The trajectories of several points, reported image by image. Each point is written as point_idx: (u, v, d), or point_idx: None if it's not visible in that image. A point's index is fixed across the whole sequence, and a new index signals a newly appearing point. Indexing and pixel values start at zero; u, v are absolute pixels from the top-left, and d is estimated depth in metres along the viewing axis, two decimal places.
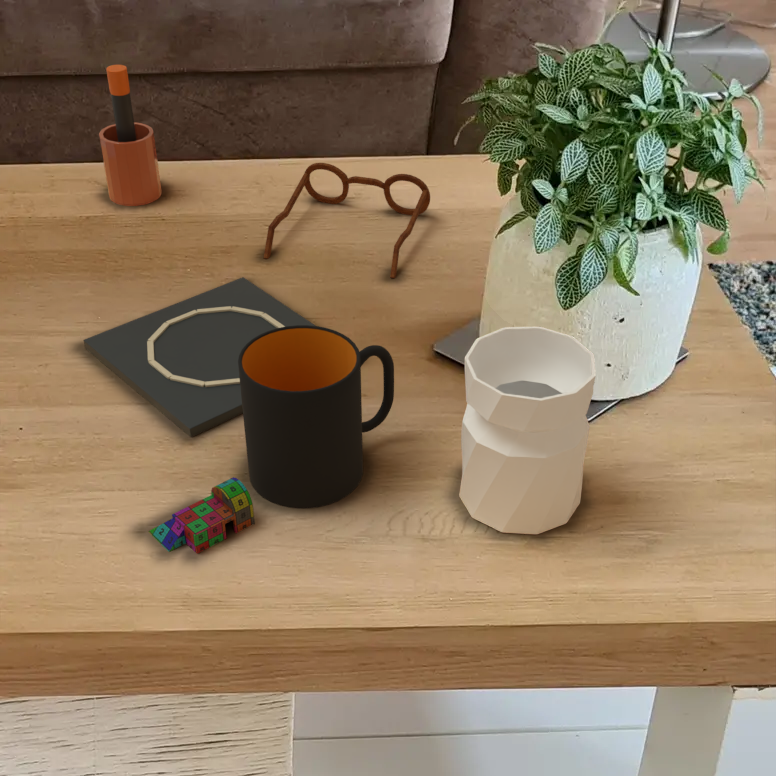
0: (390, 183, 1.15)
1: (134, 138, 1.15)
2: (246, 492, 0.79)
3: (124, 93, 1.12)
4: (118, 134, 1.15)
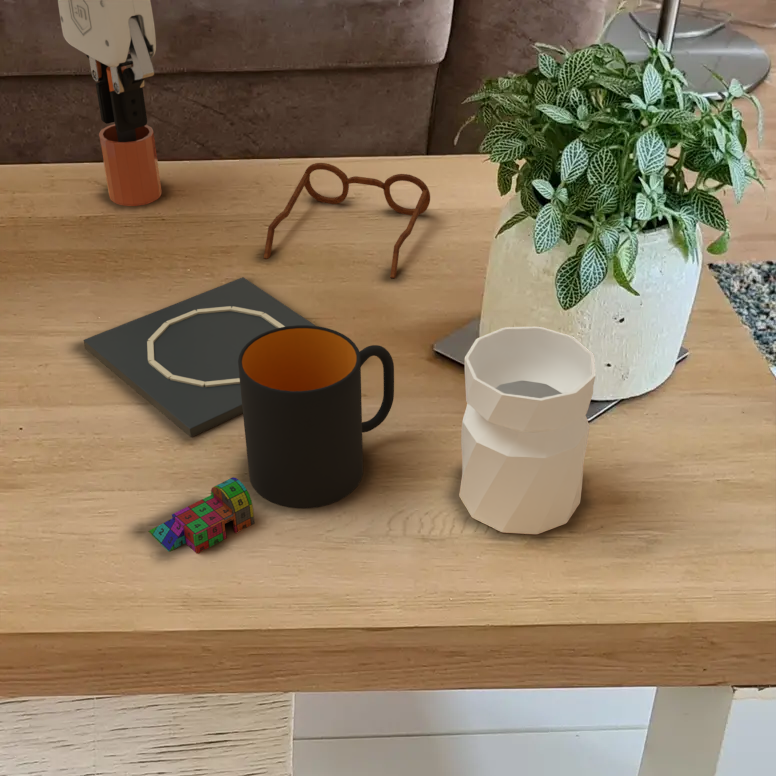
0: (390, 183, 1.15)
1: (134, 138, 1.15)
2: (246, 492, 0.79)
3: None
4: (118, 134, 1.15)
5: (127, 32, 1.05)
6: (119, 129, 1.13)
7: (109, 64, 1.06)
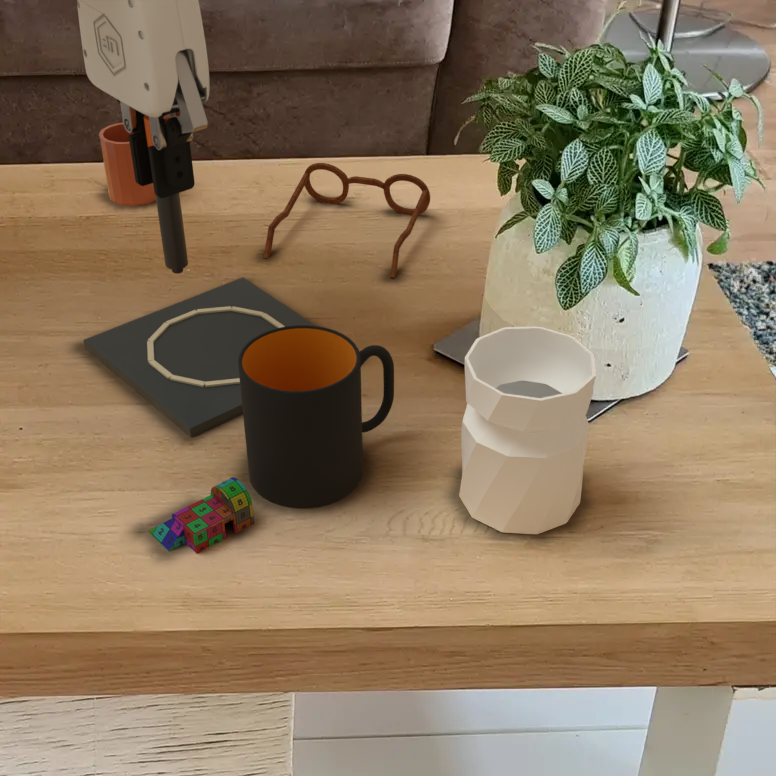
0: (390, 183, 1.15)
1: (177, 204, 0.89)
2: (246, 492, 0.79)
3: None
4: (158, 199, 0.89)
5: (173, 72, 0.79)
6: (159, 195, 0.87)
7: (149, 114, 0.80)
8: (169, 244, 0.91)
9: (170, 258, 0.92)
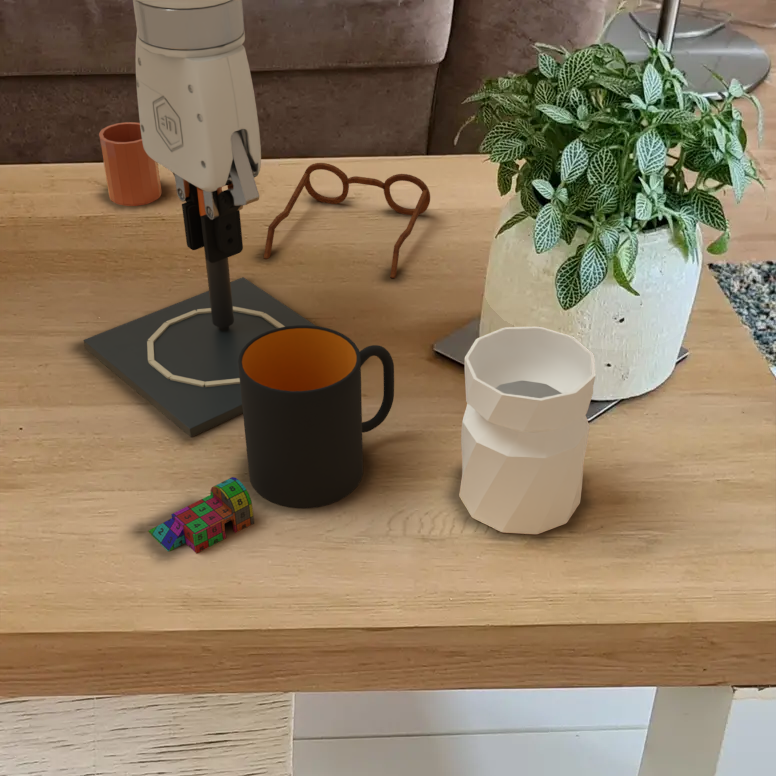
0: (390, 183, 1.15)
1: (226, 267, 0.94)
2: (245, 492, 0.79)
3: None
4: (208, 263, 0.94)
5: (229, 151, 0.84)
6: (210, 260, 0.92)
7: (205, 189, 0.85)
8: (216, 304, 0.96)
9: (218, 317, 0.97)
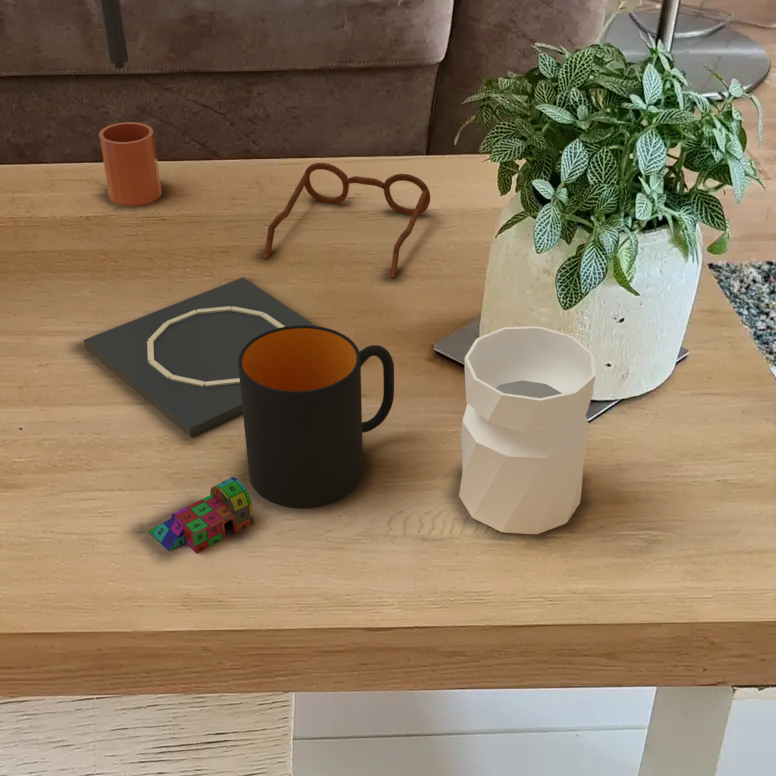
0: (390, 183, 1.15)
1: (117, 3, 1.06)
2: (245, 492, 0.79)
3: None
4: None
5: None
6: None
7: None
8: (110, 40, 1.08)
9: (112, 53, 1.09)
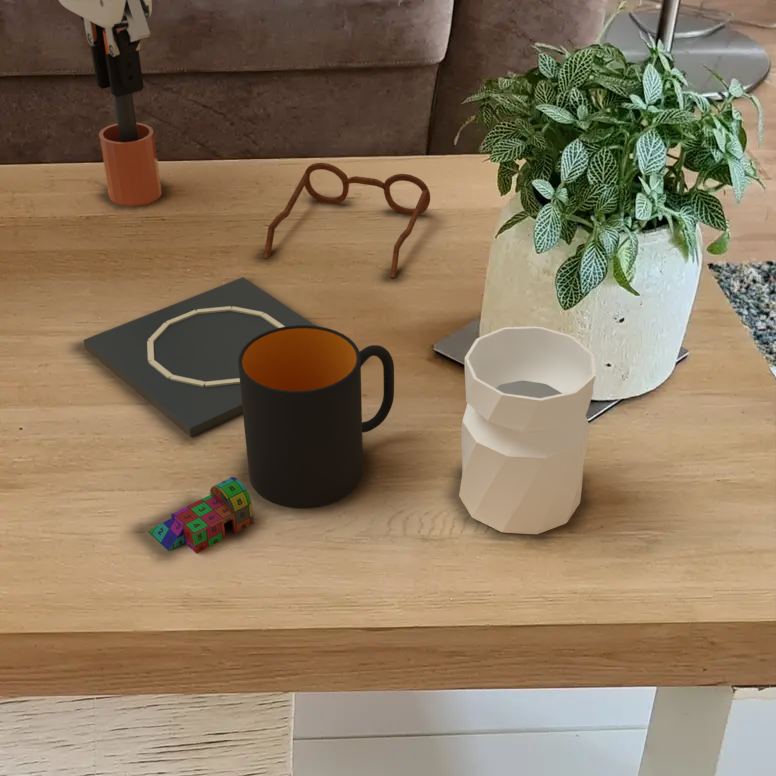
0: (390, 183, 1.15)
1: (130, 103, 1.13)
2: (245, 491, 0.79)
3: None
4: (115, 99, 1.13)
5: None
6: (115, 94, 1.11)
7: (104, 25, 1.04)
8: (124, 137, 1.15)
9: None
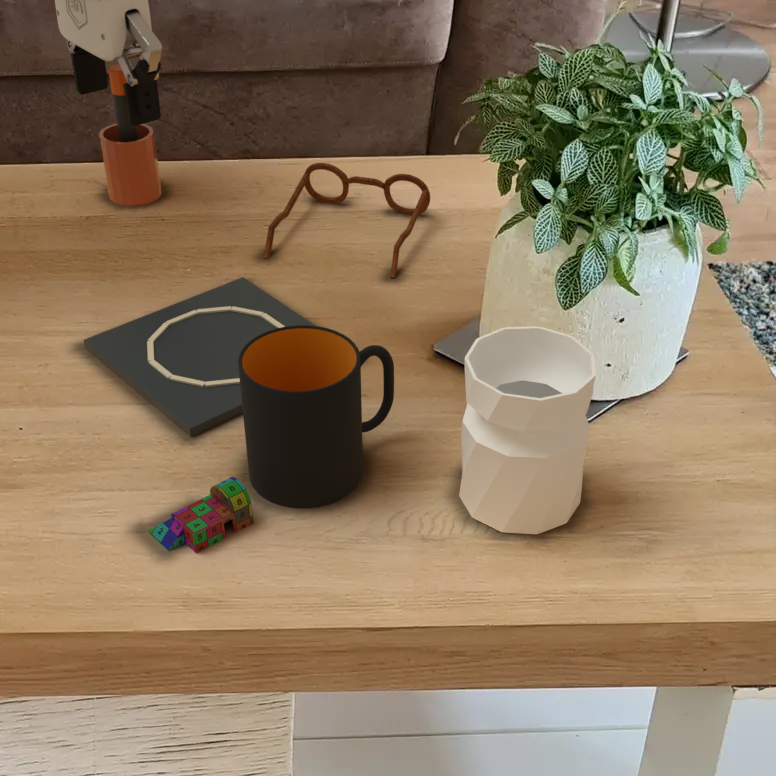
0: (390, 183, 1.15)
1: (135, 138, 1.15)
2: (245, 491, 0.79)
3: None
4: (120, 134, 1.15)
5: (123, 26, 1.04)
6: (132, 123, 1.10)
7: (105, 58, 1.06)
8: None
9: None
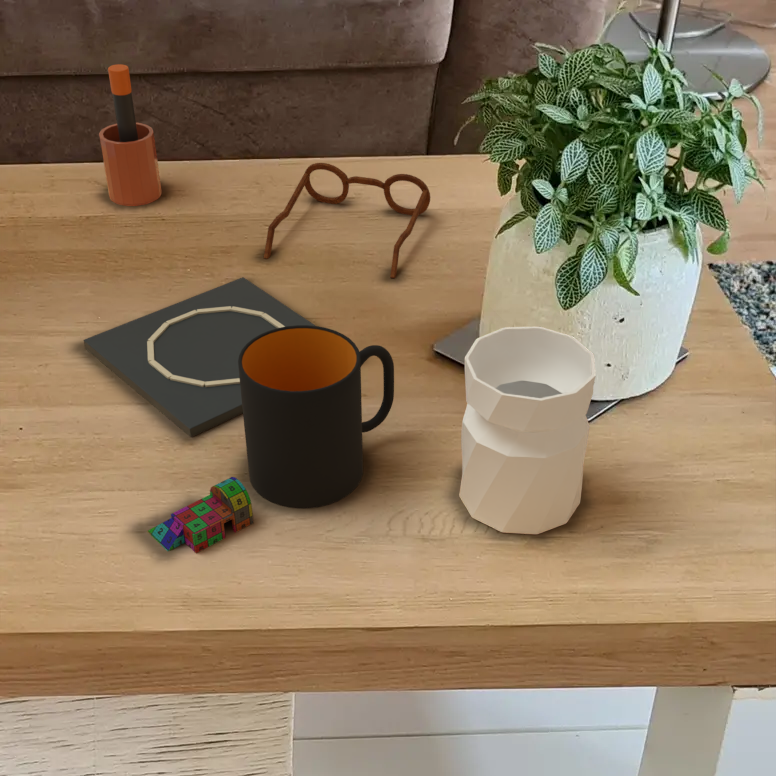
0: (390, 183, 1.15)
1: (135, 138, 1.15)
2: (245, 491, 0.79)
3: (125, 93, 1.12)
4: (120, 134, 1.15)
5: None
6: None
7: None
8: None
9: None
